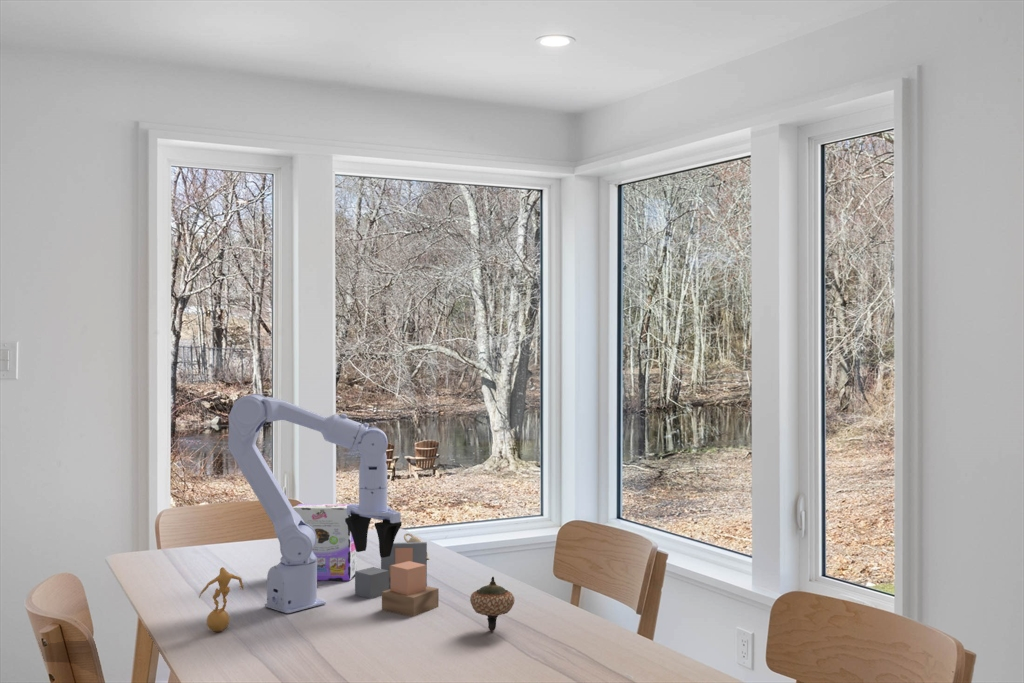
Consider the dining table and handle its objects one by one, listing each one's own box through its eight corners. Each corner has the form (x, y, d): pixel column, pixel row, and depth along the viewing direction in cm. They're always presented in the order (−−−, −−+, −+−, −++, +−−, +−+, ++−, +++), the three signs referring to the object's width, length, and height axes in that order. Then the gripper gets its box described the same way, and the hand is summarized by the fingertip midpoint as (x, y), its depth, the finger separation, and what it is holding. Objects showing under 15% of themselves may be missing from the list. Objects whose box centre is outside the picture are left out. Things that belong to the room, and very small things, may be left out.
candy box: (357, 575, 205) (357, 503, 205) (350, 581, 199) (350, 507, 199) (299, 573, 206) (299, 502, 206) (290, 580, 200) (290, 506, 201)
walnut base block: (413, 618, 173) (413, 597, 173) (381, 612, 177) (381, 591, 177) (438, 608, 180) (438, 588, 180) (407, 602, 184) (407, 582, 184)
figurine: (234, 624, 168) (235, 560, 168) (249, 631, 163) (249, 565, 163) (191, 633, 162) (191, 567, 162) (204, 641, 158) (205, 573, 158)
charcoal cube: (370, 599, 185) (370, 575, 185) (355, 595, 188) (355, 571, 188) (388, 594, 189) (388, 570, 189) (373, 590, 192) (373, 566, 192)
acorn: (501, 641, 158) (501, 584, 158) (461, 634, 162) (461, 579, 162) (522, 628, 166) (522, 574, 166) (483, 622, 169) (483, 569, 169)
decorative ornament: (414, 561, 218) (414, 539, 218) (401, 554, 226) (401, 533, 226) (429, 559, 220) (429, 538, 220) (416, 553, 228) (416, 532, 228)
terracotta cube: (407, 595, 175) (407, 569, 175) (390, 590, 178) (390, 565, 178) (426, 590, 178) (426, 564, 178) (409, 585, 182) (409, 561, 182)
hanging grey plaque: (426, 586, 195) (427, 545, 195) (380, 588, 193) (380, 546, 193) (426, 579, 200) (426, 539, 201) (381, 581, 199) (381, 540, 199)
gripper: (411, 488, 181) (411, 555, 181) (365, 481, 190) (365, 545, 190) (385, 492, 176) (385, 561, 175) (338, 485, 185) (338, 551, 185)
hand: (373, 553), depth 183 cm, fingers open, 7 cm apart
